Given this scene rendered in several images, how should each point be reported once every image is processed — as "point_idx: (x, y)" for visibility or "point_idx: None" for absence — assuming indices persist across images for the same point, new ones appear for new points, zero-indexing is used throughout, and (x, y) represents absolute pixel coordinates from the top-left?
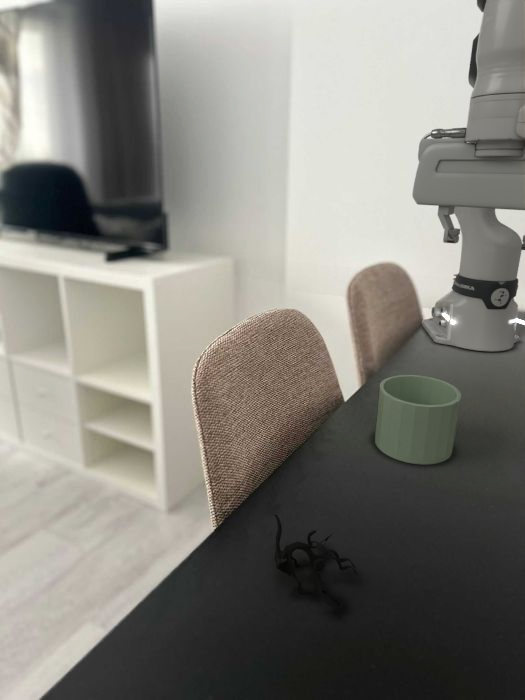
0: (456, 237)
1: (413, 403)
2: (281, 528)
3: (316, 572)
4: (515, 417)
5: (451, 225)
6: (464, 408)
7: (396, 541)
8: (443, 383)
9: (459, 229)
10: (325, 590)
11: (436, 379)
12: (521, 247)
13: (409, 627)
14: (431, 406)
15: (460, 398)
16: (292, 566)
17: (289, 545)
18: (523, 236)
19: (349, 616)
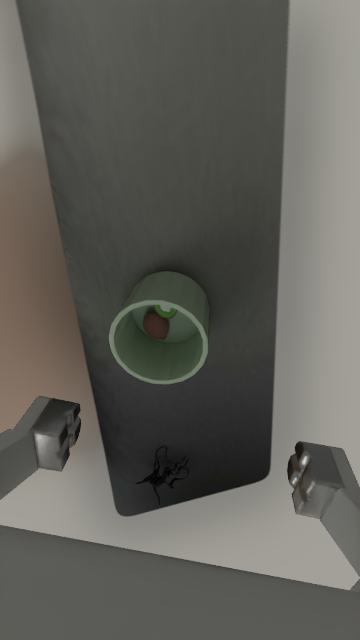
0: (70, 428)
1: (164, 381)
2: (143, 482)
3: (172, 483)
4: (277, 159)
5: (22, 455)
6: (201, 170)
7: (197, 426)
8: (178, 309)
9: (59, 442)
10: (177, 467)
11: (166, 303)
12: (288, 474)
13: (220, 468)
14: (183, 380)
15: (207, 345)
16: (159, 480)
17: (153, 486)
18: (295, 511)
19: (193, 472)
